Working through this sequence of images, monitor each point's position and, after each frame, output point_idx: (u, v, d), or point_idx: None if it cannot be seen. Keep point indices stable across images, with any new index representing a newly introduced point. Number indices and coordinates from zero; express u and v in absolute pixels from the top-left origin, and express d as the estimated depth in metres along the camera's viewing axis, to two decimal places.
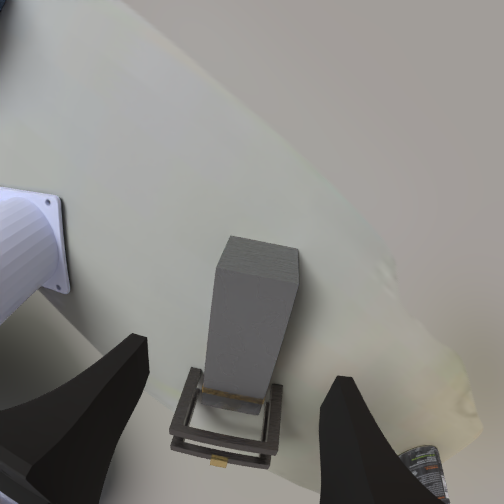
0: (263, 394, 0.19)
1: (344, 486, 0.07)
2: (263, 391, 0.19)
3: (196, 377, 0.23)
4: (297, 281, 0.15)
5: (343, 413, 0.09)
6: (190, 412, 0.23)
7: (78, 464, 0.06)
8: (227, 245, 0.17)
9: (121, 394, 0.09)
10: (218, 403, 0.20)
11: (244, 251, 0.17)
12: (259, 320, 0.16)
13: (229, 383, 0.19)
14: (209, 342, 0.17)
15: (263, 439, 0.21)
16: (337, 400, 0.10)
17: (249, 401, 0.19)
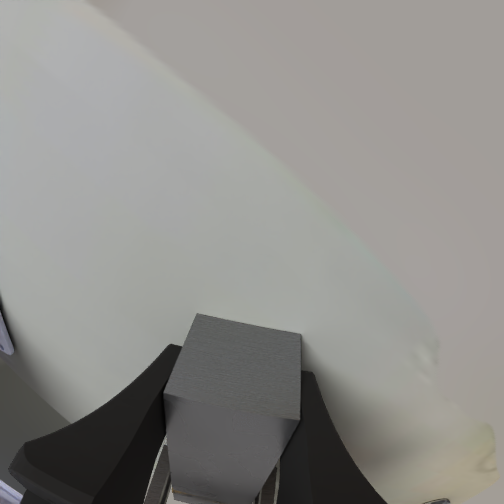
0: (249, 502, 0.12)
1: (293, 484, 0.07)
2: (249, 501, 0.12)
3: None
4: (297, 414, 0.08)
5: None
6: (165, 493, 0.16)
7: (128, 485, 0.06)
8: (188, 337, 0.11)
9: None
10: (194, 502, 0.13)
11: (215, 349, 0.10)
12: (239, 451, 0.09)
13: (205, 492, 0.12)
14: (171, 460, 0.10)
15: None
16: None
17: None
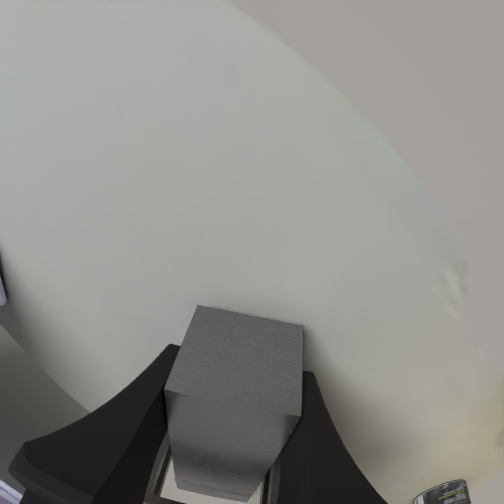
0: (251, 491, 0.12)
1: (294, 484, 0.07)
2: (251, 490, 0.12)
3: None
4: (299, 410, 0.08)
5: None
6: (165, 466, 0.15)
7: (128, 484, 0.06)
8: (189, 330, 0.11)
9: (164, 407, 0.09)
10: (197, 490, 0.14)
11: (216, 343, 0.10)
12: (240, 444, 0.10)
13: (207, 481, 0.12)
14: (174, 451, 0.11)
15: (263, 503, 0.14)
16: None
17: (234, 494, 0.13)
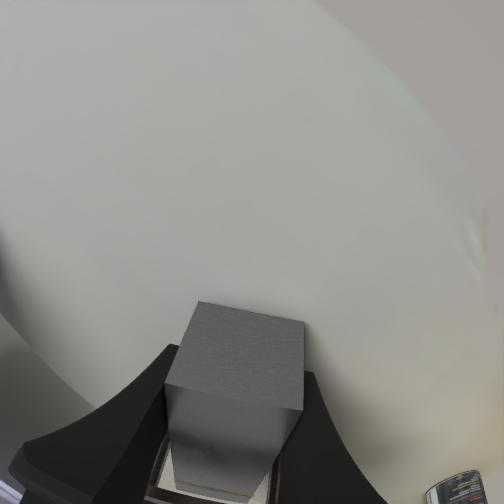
0: (251, 492, 0.12)
1: (294, 484, 0.07)
2: (251, 490, 0.12)
3: None
4: (301, 404, 0.08)
5: None
6: (163, 454, 0.14)
7: (128, 484, 0.06)
8: (190, 325, 0.11)
9: (164, 407, 0.09)
10: (196, 491, 0.13)
11: (217, 338, 0.10)
12: (241, 441, 0.09)
13: (207, 481, 0.12)
14: (173, 450, 0.11)
15: (271, 495, 0.13)
16: None
17: (234, 495, 0.13)
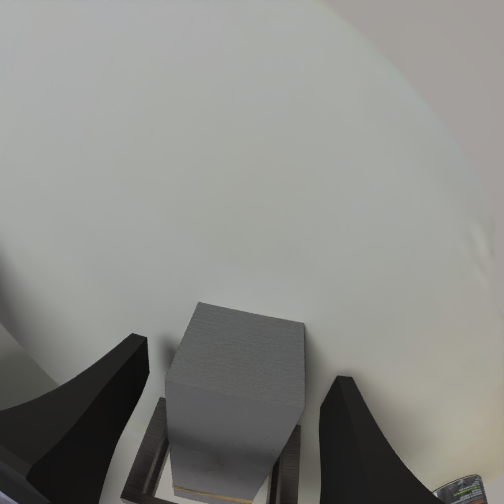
0: (251, 497, 0.12)
1: (344, 486, 0.07)
2: (251, 495, 0.12)
3: None
4: (302, 401, 0.08)
5: (343, 413, 0.09)
6: (160, 462, 0.14)
7: (78, 464, 0.06)
8: (190, 324, 0.11)
9: (121, 394, 0.09)
10: (195, 498, 0.13)
11: (217, 337, 0.10)
12: (241, 442, 0.09)
13: (206, 486, 0.12)
14: (172, 452, 0.10)
15: None
16: (337, 400, 0.10)
17: (233, 500, 0.12)
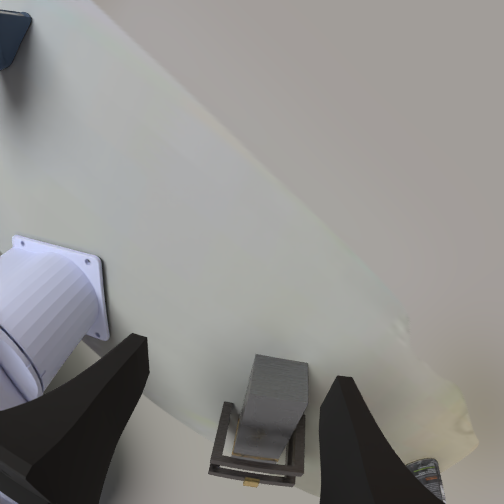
0: (278, 456, 0.23)
1: (344, 486, 0.07)
2: (278, 455, 0.23)
3: (229, 411, 0.25)
4: (307, 400, 0.20)
5: (343, 413, 0.09)
6: None
7: (78, 464, 0.06)
8: (254, 367, 0.22)
9: (121, 394, 0.09)
10: None
11: (268, 372, 0.22)
12: (278, 420, 0.21)
13: (253, 450, 0.23)
14: (240, 430, 0.22)
15: (288, 461, 0.24)
16: (337, 400, 0.10)
17: (267, 460, 0.24)
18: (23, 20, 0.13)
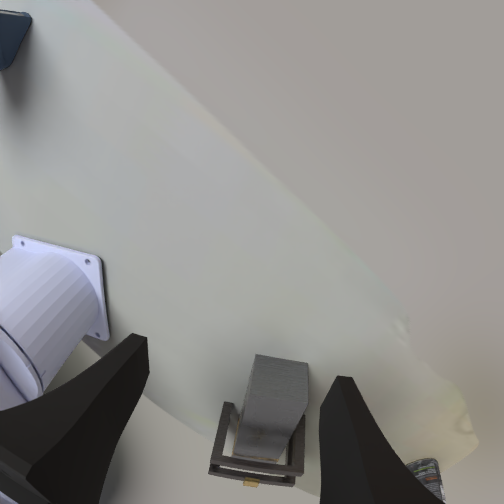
0: (278, 456, 0.23)
1: (344, 486, 0.07)
2: (278, 455, 0.23)
3: (229, 411, 0.25)
4: (307, 400, 0.20)
5: (343, 413, 0.09)
6: None
7: (78, 464, 0.06)
8: (254, 367, 0.22)
9: (121, 394, 0.09)
10: None
11: (268, 372, 0.22)
12: (279, 420, 0.21)
13: (253, 450, 0.23)
14: (240, 430, 0.22)
15: (288, 461, 0.24)
16: (337, 400, 0.10)
17: (267, 460, 0.24)
18: (23, 20, 0.13)
